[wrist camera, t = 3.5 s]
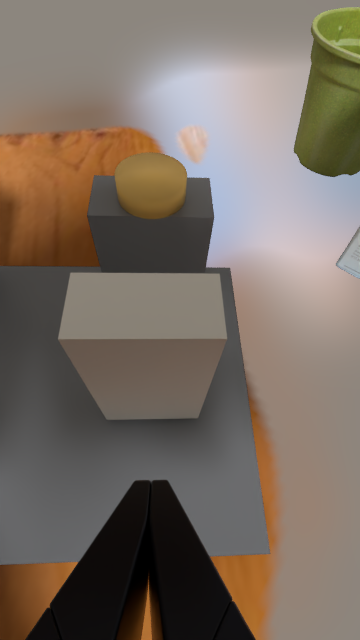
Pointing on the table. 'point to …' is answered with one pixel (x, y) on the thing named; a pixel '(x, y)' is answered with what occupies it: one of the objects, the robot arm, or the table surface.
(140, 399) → the tall white block
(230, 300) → the grey holder stand
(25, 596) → the table surface
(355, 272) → the supplement box
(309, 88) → the plant pot
